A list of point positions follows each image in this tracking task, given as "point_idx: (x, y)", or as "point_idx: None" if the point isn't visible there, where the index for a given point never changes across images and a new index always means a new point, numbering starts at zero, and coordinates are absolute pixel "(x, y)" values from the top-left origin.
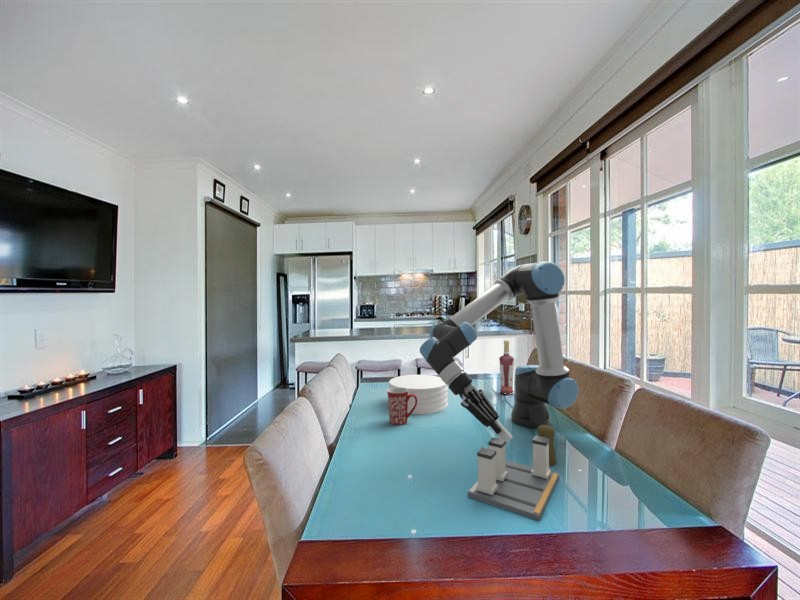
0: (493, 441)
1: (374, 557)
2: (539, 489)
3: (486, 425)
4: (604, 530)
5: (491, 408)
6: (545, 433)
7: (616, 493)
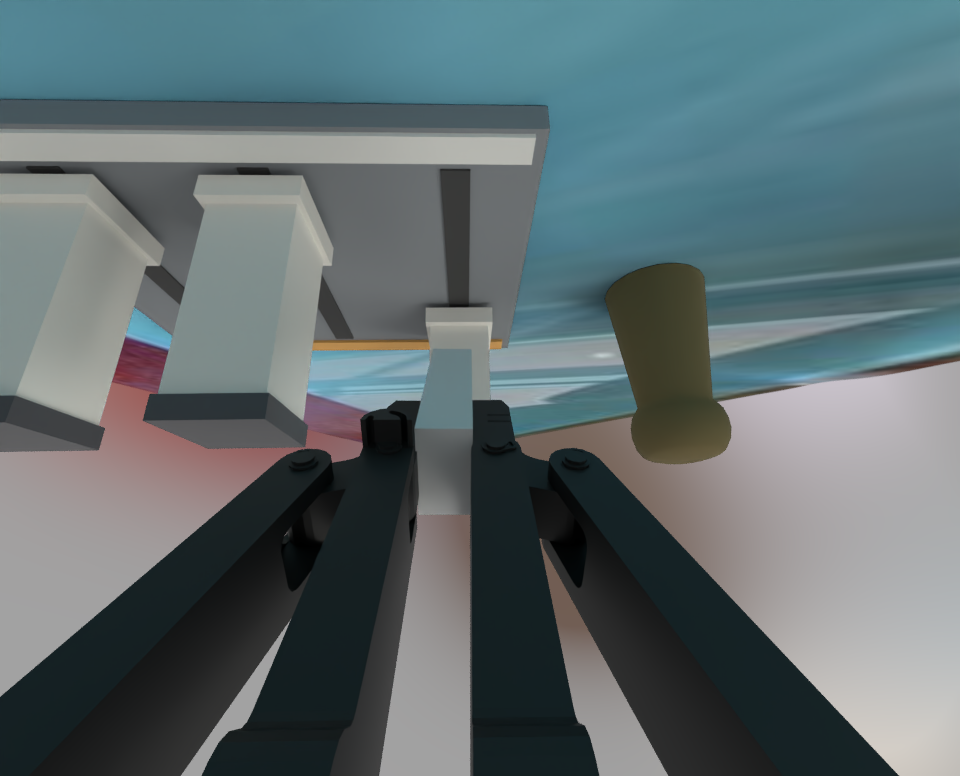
0: (196, 430)
1: None
2: (338, 333)
3: (374, 429)
4: (312, 394)
5: (582, 610)
6: (633, 439)
7: (494, 396)
